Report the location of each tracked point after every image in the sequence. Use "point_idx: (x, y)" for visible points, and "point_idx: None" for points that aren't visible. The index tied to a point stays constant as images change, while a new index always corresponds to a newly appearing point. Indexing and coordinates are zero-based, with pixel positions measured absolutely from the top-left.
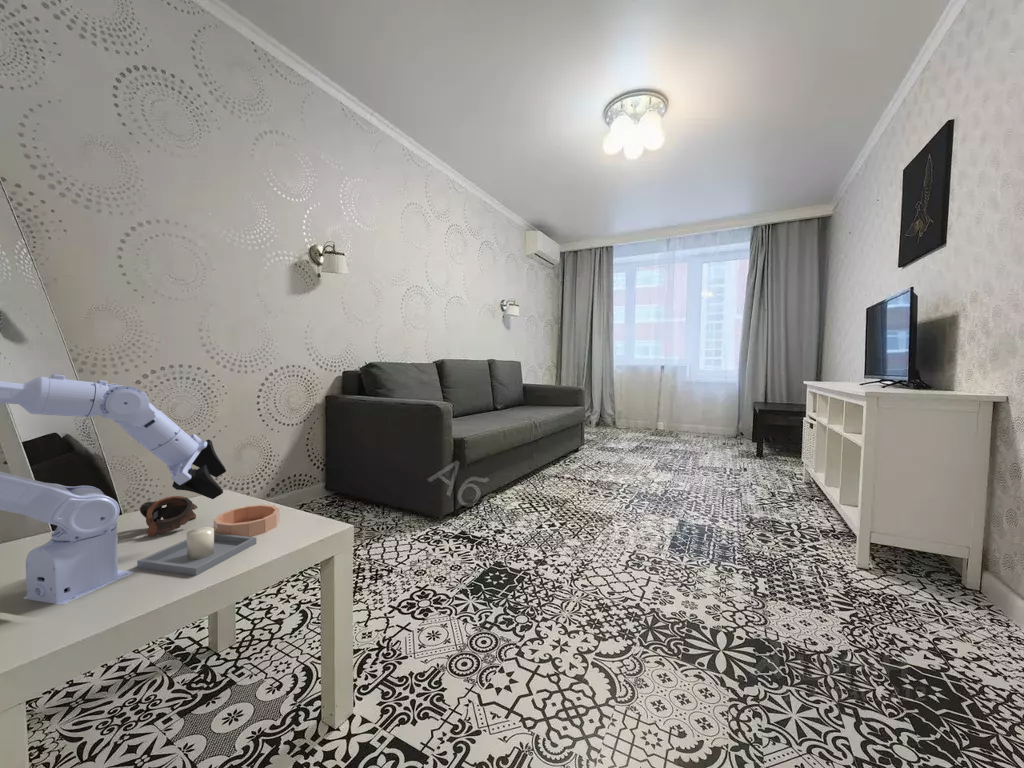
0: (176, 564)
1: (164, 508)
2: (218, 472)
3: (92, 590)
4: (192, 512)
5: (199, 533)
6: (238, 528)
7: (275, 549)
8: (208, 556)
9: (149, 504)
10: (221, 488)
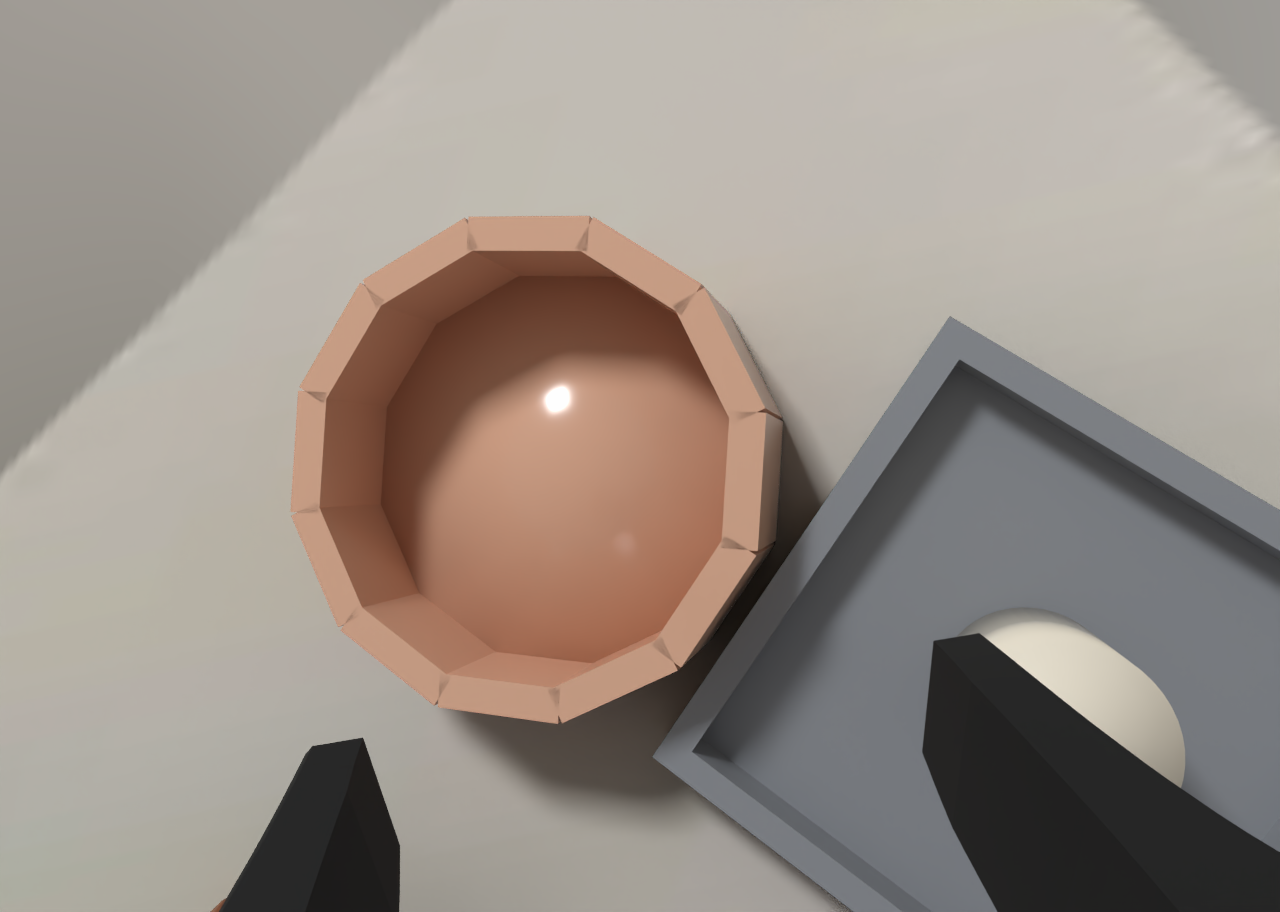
0: None
1: None
2: (374, 847)
3: None
4: None
5: (1132, 745)
6: (767, 488)
7: (1065, 168)
8: (1094, 630)
9: None
10: (958, 668)
